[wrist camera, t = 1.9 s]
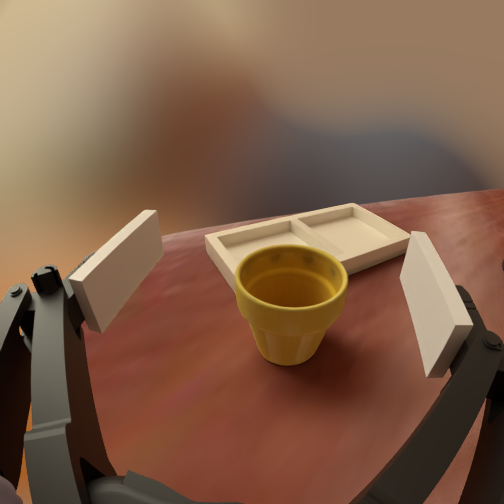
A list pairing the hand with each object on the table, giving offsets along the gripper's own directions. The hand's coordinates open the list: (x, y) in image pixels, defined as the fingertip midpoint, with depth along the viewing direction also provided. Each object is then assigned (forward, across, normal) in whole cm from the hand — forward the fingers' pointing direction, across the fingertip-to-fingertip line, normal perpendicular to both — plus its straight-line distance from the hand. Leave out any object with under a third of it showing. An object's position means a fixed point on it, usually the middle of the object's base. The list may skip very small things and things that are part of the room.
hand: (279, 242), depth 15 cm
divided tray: (+30, +2, -18) cm, 35 cm away
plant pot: (+10, 0, -18) cm, 21 cm away
